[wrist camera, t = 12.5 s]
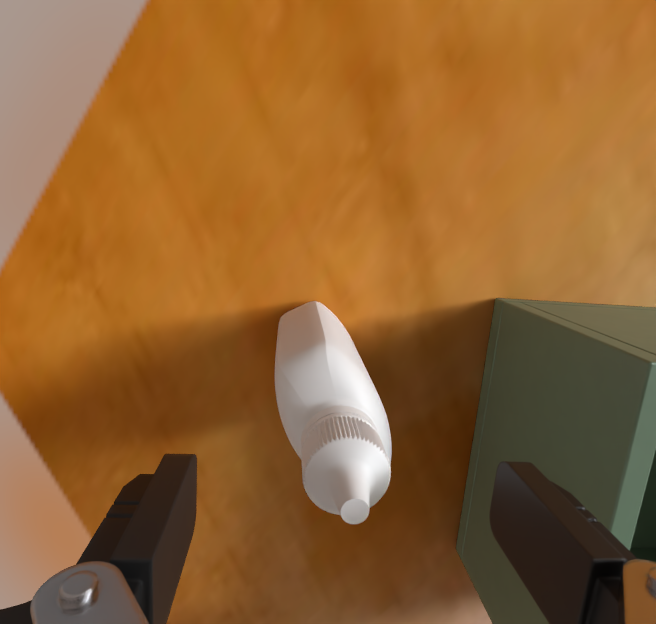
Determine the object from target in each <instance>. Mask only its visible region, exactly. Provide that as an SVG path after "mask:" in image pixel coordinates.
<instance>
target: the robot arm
mask: <svg viewBox="0 0 656 624" xmlns="http://www.w3.org/2000/svg"><path fill="white" fill-rule="evenodd" d="M196 495H197V458H196V455H195V454H165V455H164V456H163V458H162V460H161V462H160V464H159V466H158V468H157V470H156V472H155V474H140V475H138V476H137V477H136V478H134V479H133V480H132V481H130V482H129V483H128V484H126V485H125V486H124V487H123V488H122V490H121V492H120V493H119V495H118V497H117V498H116V500H115V502H114V505H112V506H111V508H110V510H109V511H108V513H107V515H106V518H104V520H103V521H102V523H101V524H100V526H99V528H98V529H97V531H96V533H95V534H94V536H93V538H92V539H91V541H90V543H89V544H88V546H87V548H86V549H85V551H84V552H83V554H82V556H81V557H80V559H79V561H78V562H77V564H76V565H74V566H71V567H68V568H66V569H64V570H62V571H60V572H59V573H57V574H55V575H54V576H52V577H51V578H50V579H49V580H47V581H46V582H45V583H44V584H43V585H42V586H41V587H40V588H39V590H38V591H37V592H36V594H35V596H34V597H33V600H31V601H29V602H26V603H23V604H20V605H17V606H13V607H10V608H6V609H1V610H0V624H166V623H167V619H168V616H169V613H170V609H171V606H172V603H173V599H174V596H175V593H176V589H177V586H178V583H179V579H180V576H181V573H182V569H183V566H184V563H185V560H186V556H187V553H188V550H189V546H190V543H191V540H192V536H193V532H194V526H195V519H196ZM489 520H490V527H491V531H492V533H493V536H494V538H495V540H496V541H497V543H498V544H499V546H500V547H501V549H502V551H503V552H504V554H505V555H506V557H507V558H508V560H509V561H510V563H511V565H512V566H513V568H514V569H515V571H516V572H517V574H518V576H519V577H520V579H521V580H522V582H523V583H524V585H525V587H526V588H527V590H528V591H529V593H530V594H531V596H532V597H533V599H534V601H535V602H536V604H537V605H538V607H539V608H540V610H541V612H542V613H543V615H544V616H545V618H546V619H547V621H548V623H549V624H656V562H652V561H648V560H642V559H637V558H636V557H635V556H634V555H633V554H632V553H631V552H630V551H629V550H628V549H627V548H626V547H625V546H624V545H623V544H622V543H621V542H620V541H619V540H618V539H617V538H616V537H615V536H614V535H613V534H612V533H611V532H610V531H609V530H608V529H607V528H606V527H605V526H604V525H603V524H602V523H601V522H598V521H597V518H596V517H595V516H594V515H593V514H592V513H591V512H590V511H589V510H586V509H585V506H584V505H583V504H581V503H580V502H579V501H578V500H577V499H576V498H575V497H574V496H573V495H572V494H571V493H570V492H568V491H567V490H565V489H563V488H562V487H560V486H559V485H557V484H555V483H554V482H552V481H549V480H548V479H547V478H546V477H545V476H544V475H543V474H542V473H541V472H540V471H539V470H538V469H537V467H536V466H535V465H534V464H532V463H531V462H516V461H502V462H500V463H499V465H498V467H497V470H496V476H495V482H494V488H493V494H492V500H491V506H490V513H489Z"/></svg>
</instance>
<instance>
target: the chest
mask: <svg viewBox="0 0 656 624" xmlns="http://www.w3.org/2000/svg"><path fill="white" fill-rule="evenodd" d="M502 461H516V462H531V463H532V464H534V465H535V466H536V467H537V469H538V470H539V471H540V472H541V473H542V474H543V475H544V476H545V477H546V478H547V479H548V480H549V481H552V482H554V483H555V484H557V485H559V486H560V487H562V488H563V489H565V490H567V491H568V492H570V493H571V494H572V495H573V496H574V497H575V498H576V499H577V500H578V501H579V502H580V503H581V504H583V505H584V506H585V509H586V510H589V511H590V512H591V513H592V514H593V515H594V516H595V517H596V518H597V521H598V522H601V523H602V524H603V525H604V526H605V527H606V528H607V529H608V530H609V531H610V532H611V533H612V534H613V535H614V536H615V537H616V538H617V539H618V540H619V541H620V542H621V543H622V544H623V545H624V546H625V547H626V548H627V549H628V550H629V551H630V552H631V553H632V554H633V555H634V556H635V557H636V558H637V559H642V560H648V561H652V562H656V308H654V307H638V306H621V305H604V304H588V303H571V302H555V301H538V300H521V299H505V298H496V299H495V304H494V311H493V317H492V323H491V330H490V336H489V342H488V348H487V355H486V361H485V367H484V374H483V380H482V386H481V393H480V399H479V405H478V412H477V418H476V424H475V430H474V437H473V443H472V449H471V456H470V462H469V468H468V475H467V481H466V487H465V494H464V500H463V506H462V513H461V519H460V525H459V531H458V538H457V544H456V550H457V552H458V554H459V556H460V558H461V560H462V562H463V564H464V567H465V569H466V571H467V573H468V575H469V577H470V579H471V581H472V583H473V585H474V587H475V589H476V591H477V593H478V595H479V597H480V599H481V601H482V603H483V605H484V607H485V609H486V611H487V613H488V615H489V617H490V619H491V621H492V623H493V624H549V623H548V621H547V619H546V618H545V616H544V615H543V613H542V612H541V610H540V608H539V607H538V605H537V604H536V602H535V601H534V599H533V597H532V596H531V594H530V593H529V591H528V590H527V588H526V587H525V585H524V583H523V582H522V580H521V579H520V577H519V576H518V574H517V572H516V571H515V569H514V568H513V566H512V565H511V563H510V561H509V560H508V558H507V557H506V555H505V554H504V552H503V551H502V549H501V547H500V546H499V544H498V543H497V541H496V540H495V538H494V536H493V533H492V531H491V527H490V520H489V513H490V506H491V500H492V494H493V488H494V482H495V476H496V470H497V467H498V465H499V463H500V462H502Z"/></svg>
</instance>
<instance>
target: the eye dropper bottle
mask: <svg viewBox="0 0 656 624" xmlns="http://www.w3.org/2000/svg"><path fill="white" fill-rule="evenodd" d="M275 390H276V399H277V405H278V409H279V413H280V417H281V421H282V424H283V427H284V430H285V432H286V434H287V437H288V439H289V441H290V443H291V445H292V447H293V448H294V450H295V452H296V453H297V455H298V456H299V458H300V459H301V460H302V480H303V484H304V488H305V492H306V493H307V496H309V497H310V500H312V502H313V503H315V505H316V506H319V508H321V509H322V510H325V511H326V512H330V513H333V514H338V515H341V517H342V519H343V520H344V521H345V522H347V523H349V524H359V523H361V522H363V521H364V520H365V519H366V518H367V517H368V515H369V508H370V507H372V506H374V504H376V503H377V502H378V501H379V500H380V498H382V497H383V495H384V494H385V493H386V492H385V491H386V490H387V489H388V488H387V487H388V486H389V482H390V478H391V475H390V474H391V467H390V464H391V456H392V443H391V433H390V428H389V423H388V419H387V415H386V412H385V409H384V407H383V404H382V402H381V400H380V397H379V395H378V393H377V391H376V389H375V386H374V384H373V382H372V380H371V378H370V376H369V374H368V372H367V370H366V368H365V366H364V364H363V361H362V359H361V357H360V355H359V353H358V351H357V349H356V347H355V345H354V343H353V341H352V339H351V337H350V335H349V333H348V332H347V330H346V329H345V327H344V326H343V324H342V323H341V322H340V321H339V319H338V318H337V317H336V316H335V315H334V314H333V313H332V312H331V311H330V310H329V309H328V308H327V307H326V306H324V305H323V304H322V303H319V302H317V301H312V302H308V303H306V304H303V305H301V306H299V307H297V308H295V309H293V310H291V311H289V312H287V313H285V314H284V315H283V316H282V317H281V318H280V321H279V326H278V335H277V345H276V356H275Z"/></svg>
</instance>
